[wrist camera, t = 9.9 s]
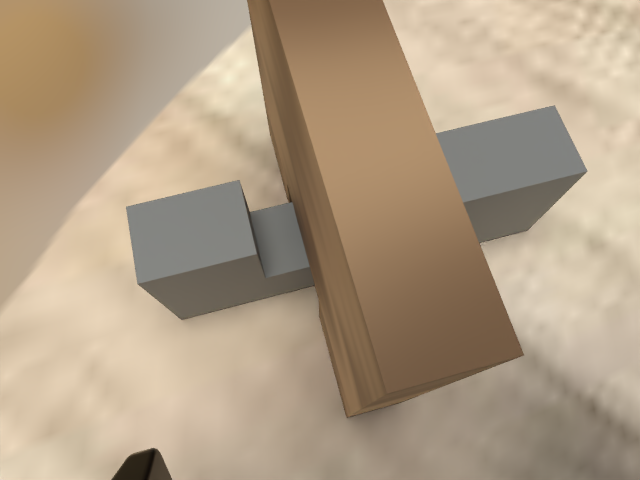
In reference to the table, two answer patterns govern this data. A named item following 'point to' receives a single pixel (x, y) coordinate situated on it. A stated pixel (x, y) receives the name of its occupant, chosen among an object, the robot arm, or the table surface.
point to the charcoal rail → (283, 230)
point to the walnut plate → (375, 205)
